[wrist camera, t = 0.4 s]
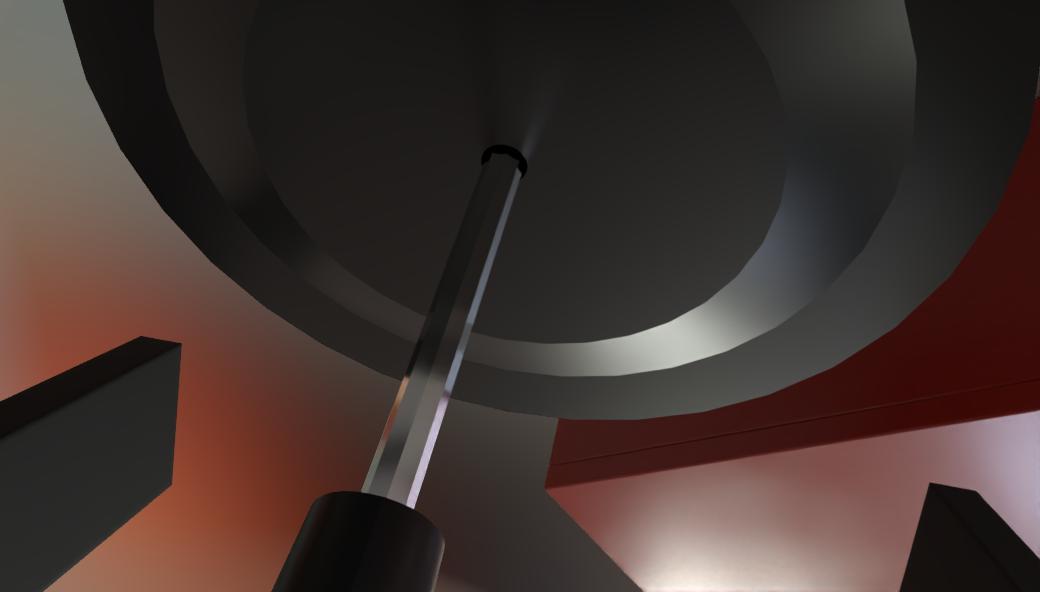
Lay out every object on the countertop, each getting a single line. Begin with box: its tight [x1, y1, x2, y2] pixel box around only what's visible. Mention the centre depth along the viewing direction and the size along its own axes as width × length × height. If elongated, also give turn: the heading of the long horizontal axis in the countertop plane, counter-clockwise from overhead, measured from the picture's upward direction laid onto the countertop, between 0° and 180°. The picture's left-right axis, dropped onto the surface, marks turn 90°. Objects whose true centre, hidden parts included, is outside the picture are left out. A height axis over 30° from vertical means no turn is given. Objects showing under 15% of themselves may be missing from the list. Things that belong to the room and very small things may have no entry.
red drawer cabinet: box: [544, 97, 1040, 592], centre depth 28 cm, size 16×14×11 cm
